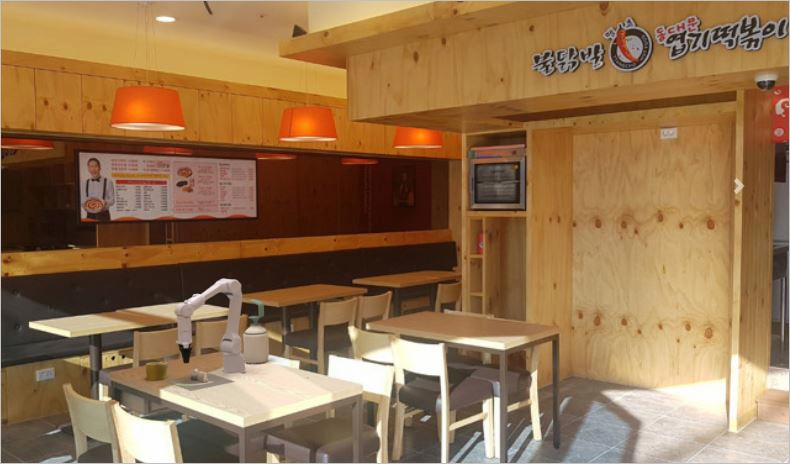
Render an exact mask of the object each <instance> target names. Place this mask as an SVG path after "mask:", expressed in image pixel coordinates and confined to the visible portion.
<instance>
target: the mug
mask: <svg viewBox="0 0 790 464" xmlns="http://www.w3.org/2000/svg"><path fill="white" fill-rule="evenodd" d="M168 364H169V363H168V362H167V361H159V362H158V361H157V362H155V361H154V362H148V363H147V362H146V364H145V375H146V380H147V381H150V382H158V381H163V380H166V379H168V366H169V365H168Z"/></svg>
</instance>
